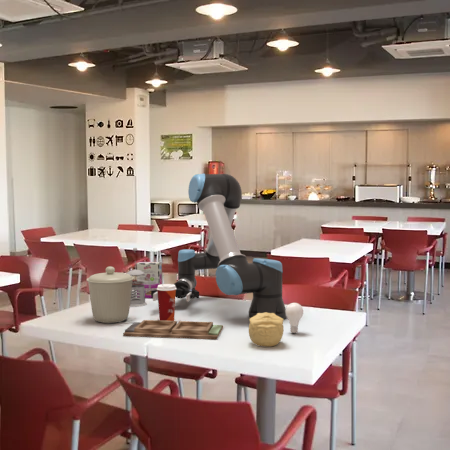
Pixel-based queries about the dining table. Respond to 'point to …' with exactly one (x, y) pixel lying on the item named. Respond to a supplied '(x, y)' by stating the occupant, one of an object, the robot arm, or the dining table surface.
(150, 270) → the candy bar box
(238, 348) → the dining table surface
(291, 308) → the lightbulb
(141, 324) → the wooden compartment tray
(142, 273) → the french press
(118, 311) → the canister
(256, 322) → the sculpture
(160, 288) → the paper cup
